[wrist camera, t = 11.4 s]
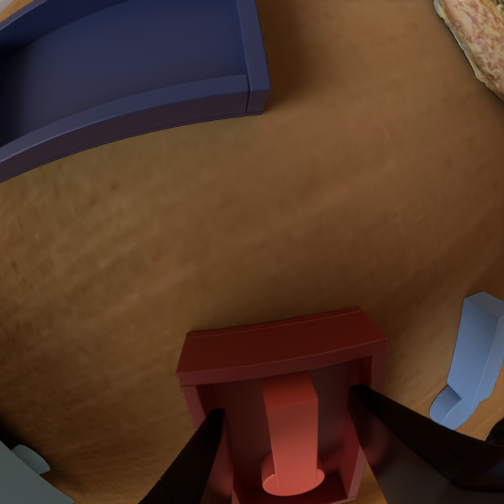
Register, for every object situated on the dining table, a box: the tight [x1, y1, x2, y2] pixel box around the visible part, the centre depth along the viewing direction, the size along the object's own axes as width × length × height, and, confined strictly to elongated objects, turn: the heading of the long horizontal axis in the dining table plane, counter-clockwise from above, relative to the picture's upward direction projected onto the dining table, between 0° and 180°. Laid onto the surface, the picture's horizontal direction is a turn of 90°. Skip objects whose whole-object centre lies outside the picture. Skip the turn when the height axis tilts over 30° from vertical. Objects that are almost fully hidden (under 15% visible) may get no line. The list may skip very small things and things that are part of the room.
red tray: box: [176, 306, 388, 504], centre depth 10 cm, size 10×6×2 cm, turn 7°
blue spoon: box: [430, 291, 504, 430], centre depth 10 cm, size 8×3×2 cm, turn 7°
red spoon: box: [260, 370, 325, 496], centre depth 9 cm, size 8×3×2 cm, turn 7°
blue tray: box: [0, 0, 272, 183], centre depth 6 cm, size 10×6×2 cm, turn 97°
